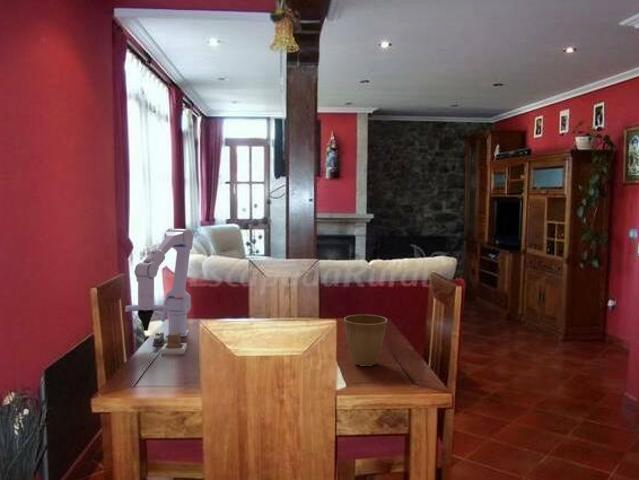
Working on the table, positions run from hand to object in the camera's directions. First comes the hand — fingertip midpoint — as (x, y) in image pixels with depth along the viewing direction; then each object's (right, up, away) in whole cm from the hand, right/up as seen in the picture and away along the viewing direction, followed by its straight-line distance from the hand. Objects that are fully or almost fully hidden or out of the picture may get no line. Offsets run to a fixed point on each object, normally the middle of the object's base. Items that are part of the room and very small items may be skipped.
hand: (145, 330), depth 197 cm
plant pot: (+81, -10, -14) cm, 83 cm away
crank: (+4, -5, +2) cm, 7 cm away
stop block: (+12, -7, -4) cm, 14 cm away
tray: (+12, -7, -4) cm, 14 cm away
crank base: (+6, -6, +6) cm, 11 cm away
